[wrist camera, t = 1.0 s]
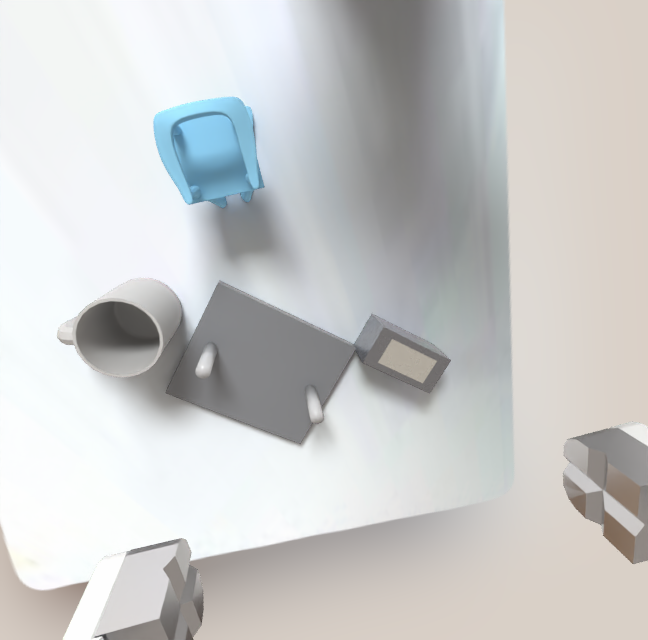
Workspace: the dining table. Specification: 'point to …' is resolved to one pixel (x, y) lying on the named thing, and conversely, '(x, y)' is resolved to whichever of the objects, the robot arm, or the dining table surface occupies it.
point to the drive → (400, 354)
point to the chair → (209, 149)
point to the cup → (125, 327)
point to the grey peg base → (260, 365)
